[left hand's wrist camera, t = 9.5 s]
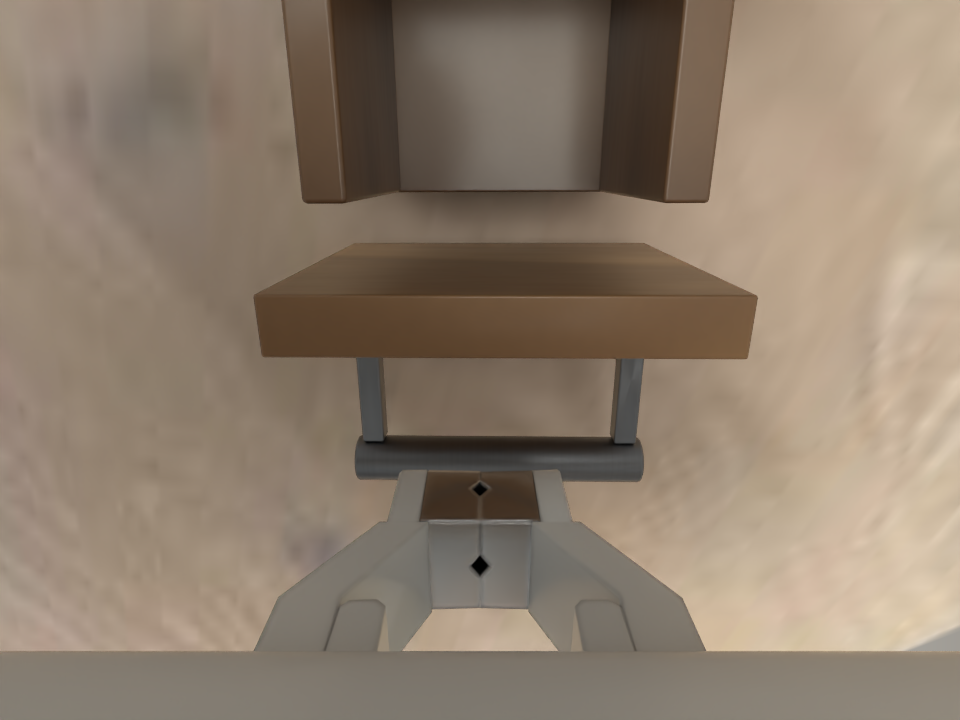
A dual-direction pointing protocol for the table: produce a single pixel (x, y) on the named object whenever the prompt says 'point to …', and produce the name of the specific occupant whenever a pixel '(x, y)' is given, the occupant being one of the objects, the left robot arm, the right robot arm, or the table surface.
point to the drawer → (505, 168)
